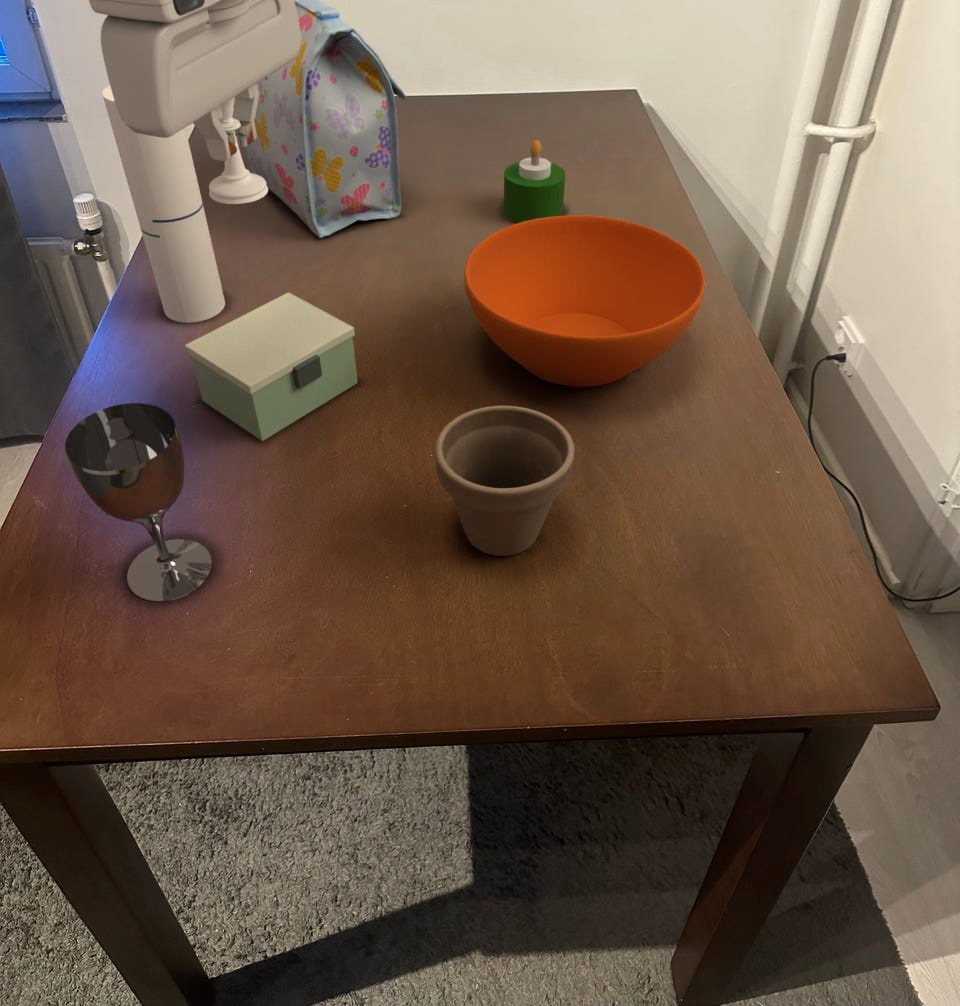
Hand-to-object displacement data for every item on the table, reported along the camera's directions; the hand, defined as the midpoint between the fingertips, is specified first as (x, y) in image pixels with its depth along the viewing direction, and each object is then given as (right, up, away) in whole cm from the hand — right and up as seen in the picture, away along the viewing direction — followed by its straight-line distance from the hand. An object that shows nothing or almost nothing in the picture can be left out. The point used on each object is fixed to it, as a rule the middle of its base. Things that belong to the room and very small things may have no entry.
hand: (234, 150), depth 74 cm
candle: (+28, +11, +51) cm, 59 cm away
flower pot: (+22, -32, +6) cm, 40 cm away
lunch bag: (-1, +14, +54) cm, 55 cm away
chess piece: (0, -3, +2) cm, 4 cm away
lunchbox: (-1, -17, +21) cm, 27 cm away
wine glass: (-6, -35, +3) cm, 36 cm away
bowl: (+31, -12, +26) cm, 43 cm away
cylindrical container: (-14, -6, +33) cm, 36 cm away
